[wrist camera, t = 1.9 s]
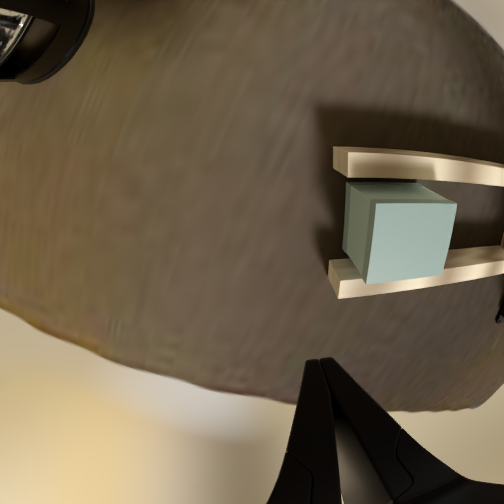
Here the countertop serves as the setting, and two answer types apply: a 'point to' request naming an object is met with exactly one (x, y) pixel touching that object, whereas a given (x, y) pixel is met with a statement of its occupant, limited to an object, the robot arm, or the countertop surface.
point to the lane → (429, 168)
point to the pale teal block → (396, 230)
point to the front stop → (502, 242)
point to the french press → (60, 47)
